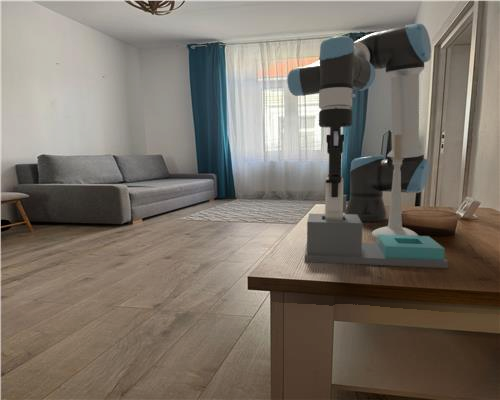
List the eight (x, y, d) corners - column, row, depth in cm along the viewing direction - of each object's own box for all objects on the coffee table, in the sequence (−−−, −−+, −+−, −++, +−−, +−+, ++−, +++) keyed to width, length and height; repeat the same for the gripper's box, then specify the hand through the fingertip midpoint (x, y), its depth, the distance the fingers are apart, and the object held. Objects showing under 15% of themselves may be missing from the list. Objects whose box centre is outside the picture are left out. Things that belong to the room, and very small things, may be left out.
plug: (325, 229, 86) (325, 179, 84) (324, 226, 90) (325, 177, 88) (346, 230, 85) (347, 179, 83) (344, 226, 89) (346, 177, 87)
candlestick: (391, 242, 99) (395, 131, 95) (362, 233, 111) (365, 134, 107) (428, 239, 103) (434, 132, 100) (396, 230, 115) (400, 134, 112)
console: (304, 261, 83) (304, 222, 81) (307, 246, 96) (307, 212, 95) (447, 268, 77) (450, 226, 76) (428, 251, 90) (430, 215, 89)
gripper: (355, 103, 75) (352, 215, 78) (349, 112, 91) (347, 204, 94) (318, 105, 76) (317, 214, 79) (319, 113, 93) (318, 204, 96)
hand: (333, 209), depth 87 cm, fingers closed on plug, 4 cm apart
